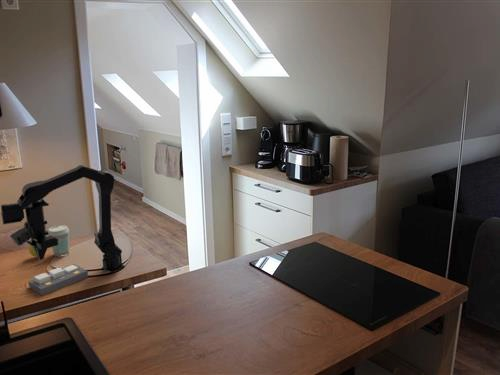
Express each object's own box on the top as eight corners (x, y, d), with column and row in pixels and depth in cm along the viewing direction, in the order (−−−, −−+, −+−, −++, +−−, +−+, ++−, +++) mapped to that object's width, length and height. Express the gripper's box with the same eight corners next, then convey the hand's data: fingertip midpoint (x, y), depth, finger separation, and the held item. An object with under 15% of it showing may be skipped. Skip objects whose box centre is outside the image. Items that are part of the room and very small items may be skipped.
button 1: (45, 277, 163) (44, 272, 163) (50, 280, 161) (50, 275, 160) (34, 281, 160) (34, 276, 160) (40, 284, 158) (39, 279, 157)
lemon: (47, 255, 189) (44, 237, 187) (40, 260, 184) (37, 242, 182) (35, 254, 190) (32, 237, 187) (28, 260, 184) (25, 242, 182)
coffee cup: (68, 248, 195) (64, 223, 192) (75, 254, 189) (71, 228, 186) (48, 253, 190) (44, 228, 187) (54, 260, 184) (50, 233, 180)
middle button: (59, 272, 167) (58, 267, 167) (65, 275, 165) (64, 270, 164) (49, 276, 164) (48, 271, 164) (54, 279, 162) (54, 274, 161)
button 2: (73, 269, 172) (72, 264, 171) (78, 272, 169) (78, 267, 169) (63, 273, 169) (63, 268, 168) (69, 276, 166) (68, 271, 166)
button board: (74, 269, 174) (73, 263, 174) (88, 276, 168) (87, 270, 168) (29, 287, 161) (28, 280, 160) (42, 295, 155) (41, 288, 154)
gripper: (0, 219, 155) (7, 259, 159) (23, 231, 143) (30, 274, 147) (32, 211, 163) (37, 250, 167) (56, 222, 152) (61, 263, 156)
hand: (41, 259), depth 159 cm, fingers closed
